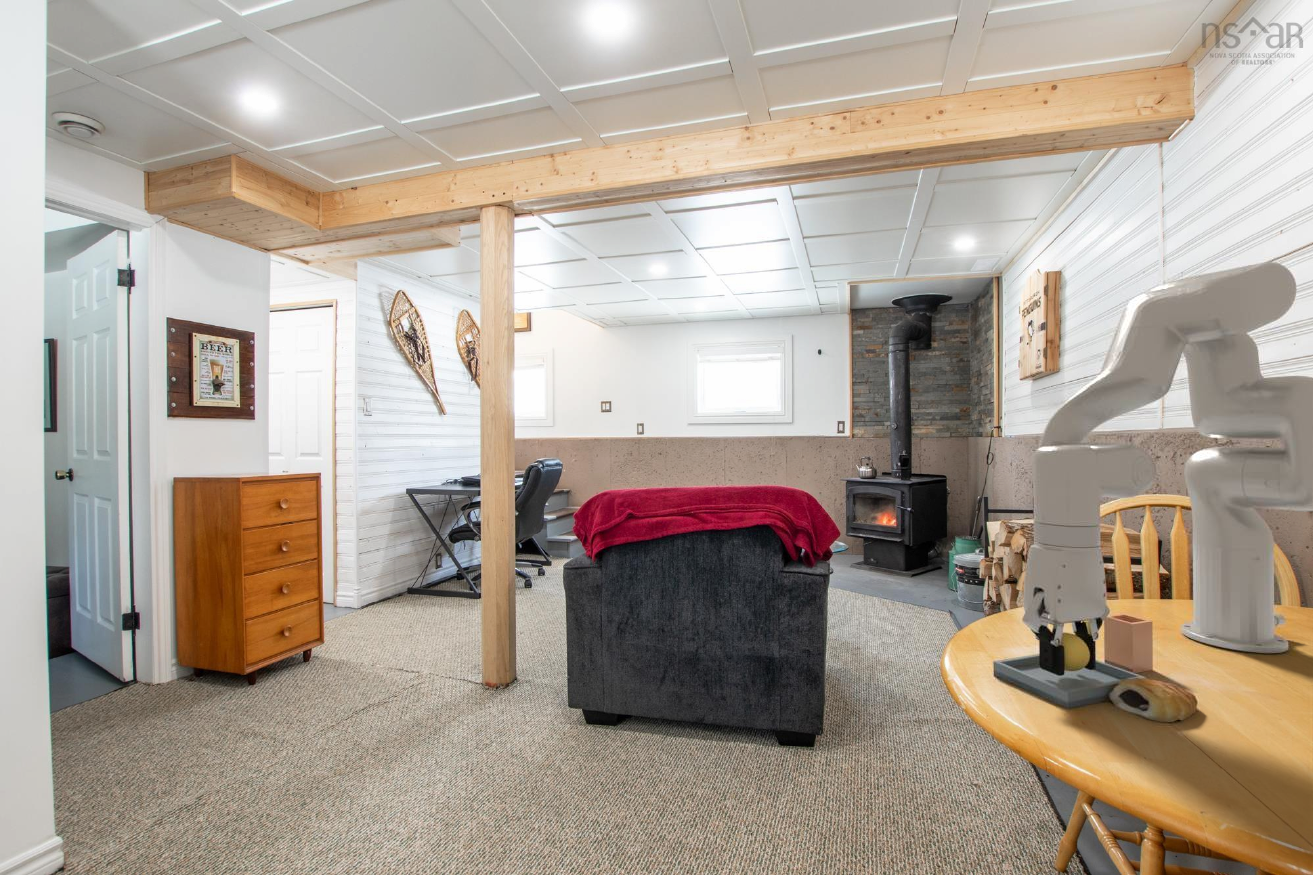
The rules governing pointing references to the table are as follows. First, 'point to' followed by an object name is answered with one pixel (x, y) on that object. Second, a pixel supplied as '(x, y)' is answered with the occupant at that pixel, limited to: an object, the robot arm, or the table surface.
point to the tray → (1062, 681)
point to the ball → (1074, 652)
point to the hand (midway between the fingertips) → (1067, 667)
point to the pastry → (1154, 699)
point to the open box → (1128, 643)
